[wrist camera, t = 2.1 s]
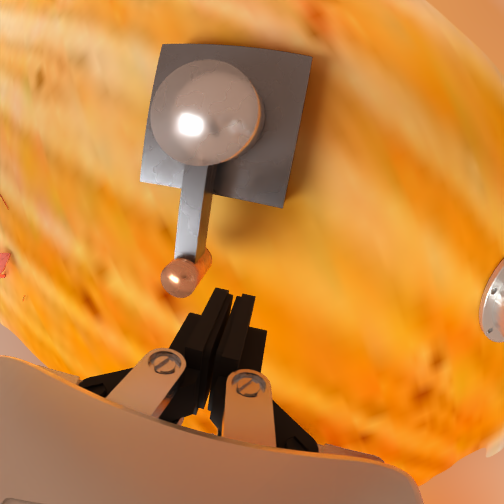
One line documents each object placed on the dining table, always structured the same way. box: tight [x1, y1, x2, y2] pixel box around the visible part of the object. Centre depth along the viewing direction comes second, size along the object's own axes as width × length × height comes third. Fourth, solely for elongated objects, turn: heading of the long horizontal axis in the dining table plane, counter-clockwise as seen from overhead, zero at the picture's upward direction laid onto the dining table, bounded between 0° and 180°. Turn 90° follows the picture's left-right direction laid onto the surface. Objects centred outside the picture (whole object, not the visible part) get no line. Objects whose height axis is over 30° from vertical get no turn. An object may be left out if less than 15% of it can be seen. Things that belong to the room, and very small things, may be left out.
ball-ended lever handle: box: [150, 60, 265, 298], centre depth 20 cm, size 16×7×4 cm, turn 170°
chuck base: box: [140, 44, 312, 208], centre depth 22 cm, size 12×12×3 cm
